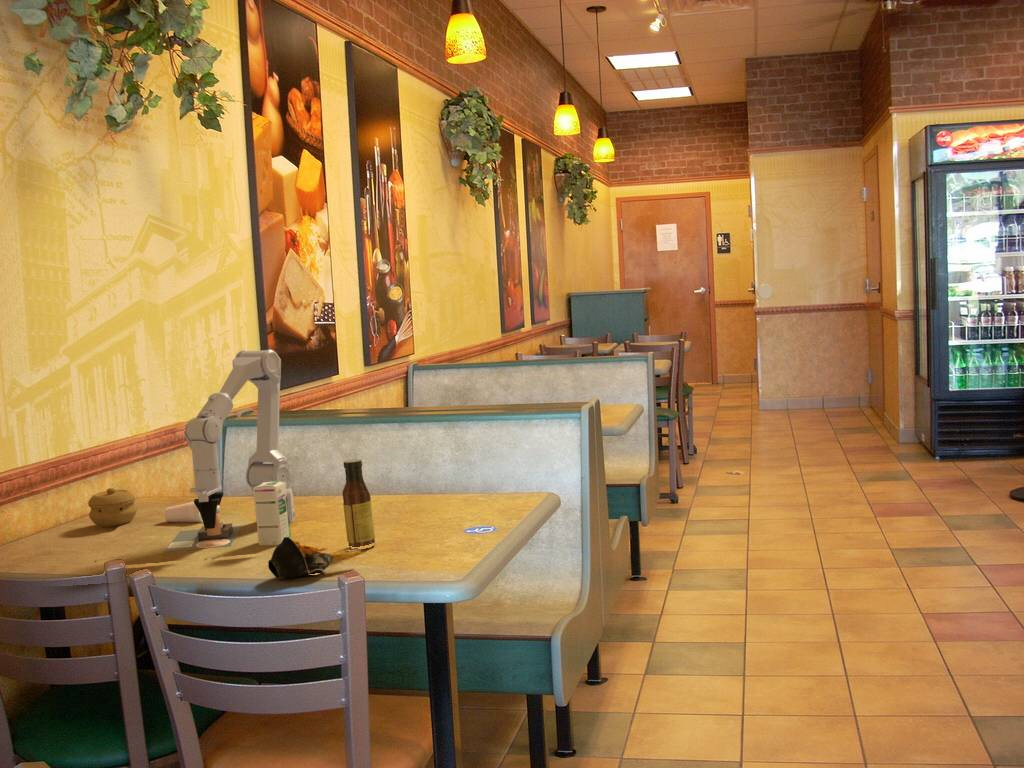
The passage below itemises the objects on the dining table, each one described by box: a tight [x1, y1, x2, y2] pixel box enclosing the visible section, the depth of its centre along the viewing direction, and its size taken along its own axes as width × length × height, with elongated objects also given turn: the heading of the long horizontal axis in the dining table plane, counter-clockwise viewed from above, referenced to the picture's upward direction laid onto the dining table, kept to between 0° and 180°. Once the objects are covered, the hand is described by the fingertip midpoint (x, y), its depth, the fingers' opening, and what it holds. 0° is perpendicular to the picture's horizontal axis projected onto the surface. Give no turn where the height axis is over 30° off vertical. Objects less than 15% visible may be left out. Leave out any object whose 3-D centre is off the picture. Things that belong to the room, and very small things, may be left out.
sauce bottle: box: [342, 458, 376, 547], centre depth 238 cm, size 6×6×20 cm
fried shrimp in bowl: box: [267, 537, 362, 579], centre depth 220 cm, size 9×11×18 cm
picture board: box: [163, 525, 243, 553], centre depth 254 cm, size 15×20×1 cm
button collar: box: [198, 523, 234, 541], centre depth 255 cm, size 7×7×2 cm
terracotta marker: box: [207, 505, 221, 536], centre depth 247 cm, size 4×4×6 cm
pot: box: [87, 487, 138, 528], centre depth 277 cm, size 12×12×10 cm
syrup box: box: [252, 481, 292, 546], centre depth 245 cm, size 6×6×14 cm
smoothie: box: [164, 501, 203, 523], centre depth 274 cm, size 6×6×14 cm
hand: (211, 526), depth 247 cm, fingers closed on terracotta marker, 3 cm apart
